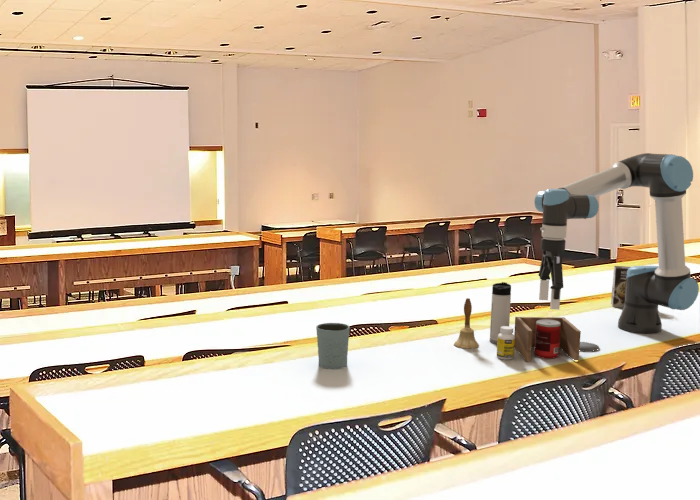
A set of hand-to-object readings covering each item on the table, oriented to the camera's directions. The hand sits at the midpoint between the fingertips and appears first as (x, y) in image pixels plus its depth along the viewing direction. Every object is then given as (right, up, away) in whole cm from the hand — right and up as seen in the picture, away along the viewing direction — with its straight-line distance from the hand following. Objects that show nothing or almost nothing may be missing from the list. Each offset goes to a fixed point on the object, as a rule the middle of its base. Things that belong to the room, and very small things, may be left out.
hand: (548, 304), depth 276 cm
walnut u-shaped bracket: (0, -16, +4) cm, 17 cm away
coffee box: (+48, -6, +78) cm, 92 cm away
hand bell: (-24, -15, +13) cm, 31 cm away
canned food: (0, -17, +3) cm, 17 cm away
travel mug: (-13, -14, +18) cm, 26 cm away
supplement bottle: (-14, -17, -1) cm, 22 cm away
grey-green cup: (-69, -18, -13) cm, 72 cm away
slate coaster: (+15, -15, +13) cm, 25 cm away
